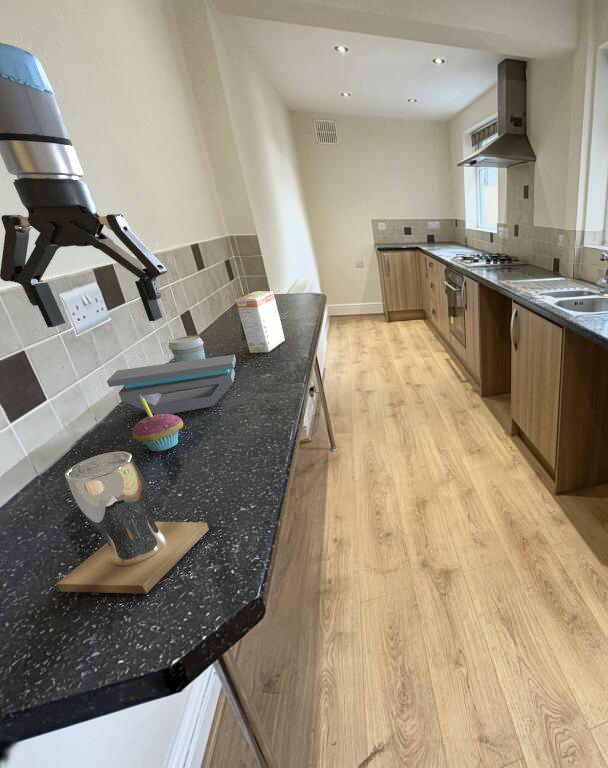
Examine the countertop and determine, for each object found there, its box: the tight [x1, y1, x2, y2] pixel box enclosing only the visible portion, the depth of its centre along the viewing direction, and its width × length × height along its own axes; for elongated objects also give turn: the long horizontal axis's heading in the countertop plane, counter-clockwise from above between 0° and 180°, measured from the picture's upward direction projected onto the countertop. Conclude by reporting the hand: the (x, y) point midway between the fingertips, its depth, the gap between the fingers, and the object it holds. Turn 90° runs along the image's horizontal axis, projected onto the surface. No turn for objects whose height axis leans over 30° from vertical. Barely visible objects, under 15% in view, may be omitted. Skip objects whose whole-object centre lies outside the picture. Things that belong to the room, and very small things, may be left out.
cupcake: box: [131, 395, 184, 452], centre depth 88 cm, size 9×8×12 cm
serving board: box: [56, 521, 210, 594], centre depth 61 cm, size 12×12×2 cm
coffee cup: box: [168, 335, 206, 362], centre depth 125 cm, size 9×8×12 cm
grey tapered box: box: [106, 354, 237, 415], centre depth 106 cm, size 25×8×11 cm, turn 118°
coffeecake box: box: [234, 290, 286, 354], centre depth 151 cm, size 15×7×20 cm, turn 6°
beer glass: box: [64, 451, 166, 566], centre depth 57 cm, size 7×7×15 cm
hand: (107, 322), depth 67 cm, fingers open, 13 cm apart
